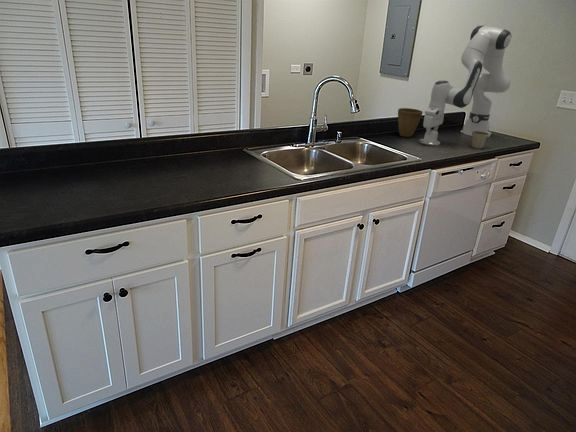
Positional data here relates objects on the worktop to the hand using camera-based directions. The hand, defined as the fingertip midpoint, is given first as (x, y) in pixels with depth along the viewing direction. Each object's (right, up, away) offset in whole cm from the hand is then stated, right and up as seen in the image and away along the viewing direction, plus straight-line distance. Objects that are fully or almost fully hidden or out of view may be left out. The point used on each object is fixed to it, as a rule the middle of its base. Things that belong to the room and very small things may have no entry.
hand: (431, 133), depth 237 cm
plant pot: (-11, +2, +16) cm, 19 cm away
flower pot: (+27, -9, -1) cm, 28 cm away
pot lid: (0, -5, +2) cm, 6 cm away
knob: (0, -4, +2) cm, 5 cm away
